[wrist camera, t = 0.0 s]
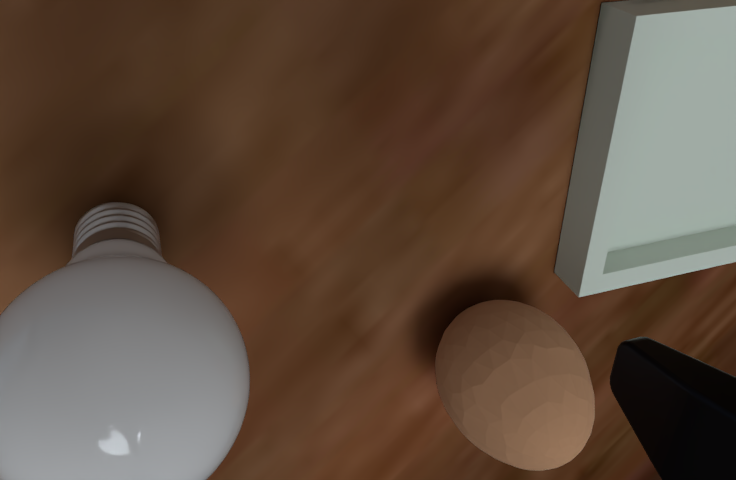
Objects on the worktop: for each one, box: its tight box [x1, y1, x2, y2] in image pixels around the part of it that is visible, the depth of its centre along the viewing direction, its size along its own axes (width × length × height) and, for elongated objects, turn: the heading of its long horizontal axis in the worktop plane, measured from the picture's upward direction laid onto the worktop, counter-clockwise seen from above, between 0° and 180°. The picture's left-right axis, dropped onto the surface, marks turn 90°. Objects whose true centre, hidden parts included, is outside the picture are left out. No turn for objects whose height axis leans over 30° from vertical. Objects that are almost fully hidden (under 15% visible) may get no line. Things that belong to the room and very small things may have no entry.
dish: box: [554, 0, 736, 297], centre depth 28 cm, size 12×12×2 cm
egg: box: [435, 300, 595, 471], centre depth 27 cm, size 6×6×8 cm
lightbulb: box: [0, 202, 250, 480], centre depth 18 cm, size 6×6×11 cm
